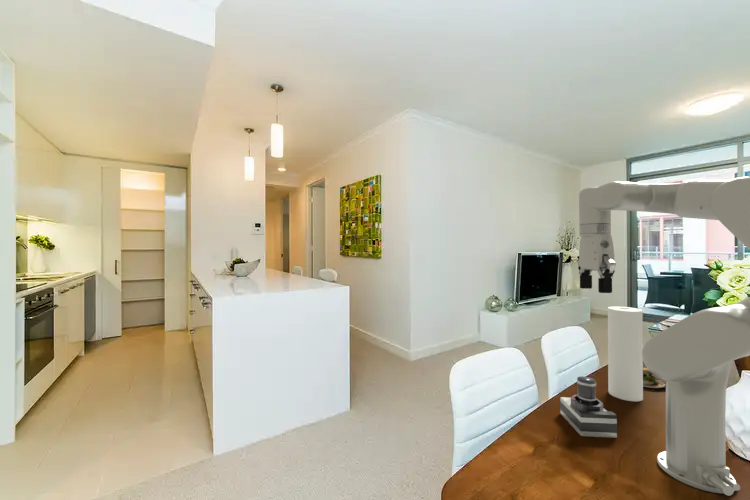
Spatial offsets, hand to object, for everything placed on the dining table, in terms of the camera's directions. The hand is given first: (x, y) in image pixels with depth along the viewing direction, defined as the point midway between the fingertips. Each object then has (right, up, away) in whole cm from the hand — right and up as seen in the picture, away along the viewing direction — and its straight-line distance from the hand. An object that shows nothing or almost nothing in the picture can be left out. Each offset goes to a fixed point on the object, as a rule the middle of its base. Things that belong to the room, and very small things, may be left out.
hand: (595, 290), depth 94 cm
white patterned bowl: (+36, -38, +26) cm, 59 cm away
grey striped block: (-3, -38, -1) cm, 38 cm away
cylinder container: (+22, -38, +18) cm, 48 cm away
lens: (-3, -33, -1) cm, 33 cm away
